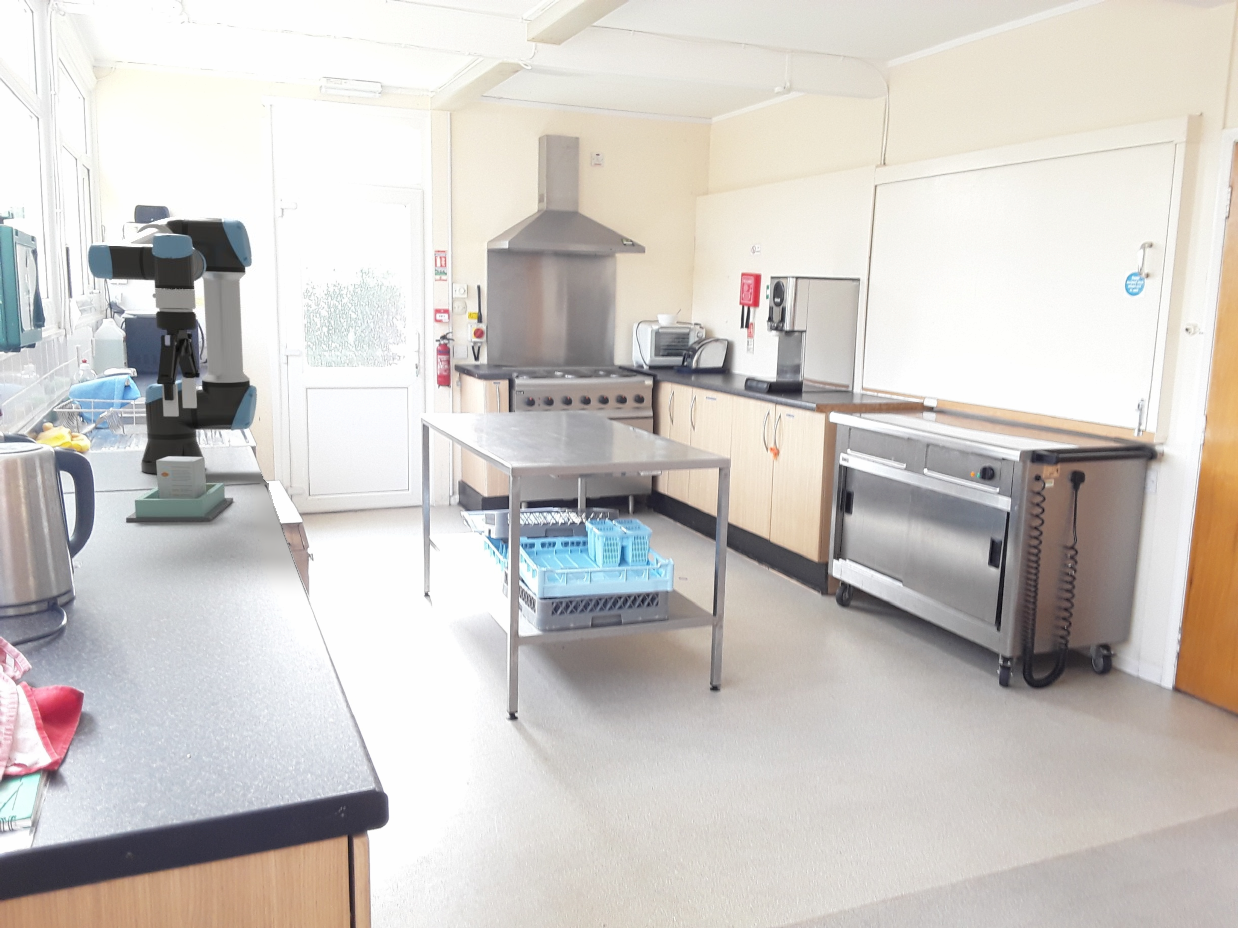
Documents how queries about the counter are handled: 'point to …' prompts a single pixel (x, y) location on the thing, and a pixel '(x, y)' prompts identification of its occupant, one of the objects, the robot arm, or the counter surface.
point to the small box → (181, 477)
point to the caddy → (180, 506)
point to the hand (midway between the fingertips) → (180, 412)
